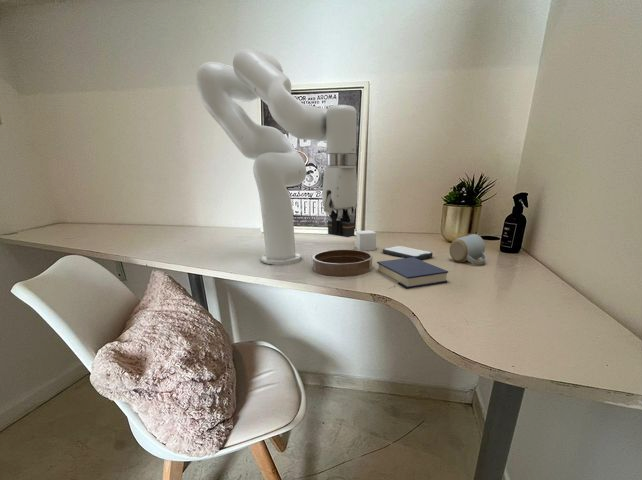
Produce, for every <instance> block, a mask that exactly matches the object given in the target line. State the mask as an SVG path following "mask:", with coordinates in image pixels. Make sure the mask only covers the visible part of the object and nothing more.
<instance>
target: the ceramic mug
mask: <svg viewBox="0 0 642 480" xmlns="http://www.w3.org/2000/svg"><path fill="white" fill-rule="evenodd" d="M448 250H449V255H450V257H451V258H452V259H453V260H454V261H455V262H458V263H460V262H461V263H462V262H467V261H468V263H471V264H472V265H475V266H482V265H484V264H485V263H486V262H487V255H486V254H485V250H486V244H485V241H484V239H483V238H482V237H481V236H480V235H479V234H477V233H473V234H469V235H466V236H461V237H458V238H456V239H453V241H452V242H451V243H450V245H449V249H448ZM478 259H482V260H478Z"/></svg>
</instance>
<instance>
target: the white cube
mask: <svg viewBox="0 0 642 480" xmlns="http://www.w3.org/2000/svg"><path fill="white" fill-rule="evenodd" d="M355 248H356V250H360V251H365V252H366V251H377V232H375V231H374V230H372V229H370V230H369V229H368V230H355Z"/></svg>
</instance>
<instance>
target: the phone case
mask: <svg viewBox="0 0 642 480" xmlns="http://www.w3.org/2000/svg"><path fill="white" fill-rule="evenodd" d="M382 253H383V254H385V255H391V256H394V257H399V258H401V259H403V258H411V257H414V258H417V259H419V260H424V259H429V258H432V257H433V252H432V251H427V250H423V249H418V248H414V247H413V248H412V247H408V246H403V245H395V246H390V247H385V248H383V249H382Z"/></svg>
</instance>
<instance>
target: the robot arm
mask: <svg viewBox="0 0 642 480" xmlns="http://www.w3.org/2000/svg"><path fill="white" fill-rule="evenodd" d="M195 78H196V89H197V91H198V95H199V98H200V101H201V103H202V105H203V106H204V109H206V111H207V112H208V114H209V115H210V116H211V117H212V118H213V120H214V121H215V122H216V123H217V124H218V125H219V126H220V127H221V129H222V130H223V131H224V132H225V134H226V135H227V136H228V138H229V139H230V141H231V143H233V144H234V146H235V147H236V148H237V150H238V151H239V152H240V153H241V154H242V156H243V157H244V158H246V159H248V160H252V161H254V162H253V165H252V172H253V178H254V181H255V184H256V188H257V191H258V197H259V198H258V199H259V203H260V205H259V206H260V212H261V221H262V229H263V237H264V238H263V239H264V249H265V254H264V255H262V256H261V262H262V263H264V264H267V265H276V264H288V263H294V262H297V261H299V260H300V259H301V256H302V255H301V254H300V253H298V252H296V239H295V226H294V211H293V203H292V197H291V196H290V193H289V190H288V187H289V188H290V187H297V186H300V185H301V184H303V183H304V181H305V180H306V178H307V165H306V163H305V161H304V159H303V157H302V156H301V154H300V153H299V152H298V150H297V149H296V148H295V147H294V145H293V144H292V143H291V141H290V140H289V139H288V138H287V136H286V135H285V134H284V133H283V132H282V131H281V130H280V129H278V128H276V127H273V126H268V125H263V124H259V123H256V122H255V121H254V120H253V119H252V118H251V116H249V113H247V111H246V110H245V109H244V108H243V106H241V105H239V104H238V103H237V102H240V103H249V102H253V101H256V100H259V99H260V100H261V101H262V102H263V103H264V104H266V105H267V108H268V111H269V113H270V116H271V117H272V119H273V120H274V121H275V122H276V123H277V124H278V125H279V126H280V127H281V128H282V129H283V130H285V132H287V133H288V134H289V135H291V136H293V137H294V138H296V139H299V140H303V141H305V140H306V141H315V142H326V167H325V168H324V172H323V177H322V178H323V179H322V195H321V196H322V197H321V198H322V199H321V201H322V202H321V203H322V207H323V212H324V213H325V214H327V215H328V217H329V221H331V220H332V235H331V236H337V235H338V236H337V237H342V236H341V235H342V221H347V222H351V219H352V218H353V213H354V211H355V210H356V209H357V207H358V204H357V203H358V176H357V166H356V165H357V119H358V118H357V117H358V115H357V109H356V108H355V107H354V106H353V105H348V104H334V105H330V106H329V107H327V108H322V107H319V106H313V105H310V104H306V103H305V104H304V103H303V102H301V101H300V100H299V99H297V98H296V97H295V96H294V95H293V94H292V83H291V80H290V78H289V77H288V76H287V75H286V74H285V73H284V71H283V66H282V65H281V63H280V62H279V60H278V59H277V58H275V57H274V56H272V55H270V54H267V53H264V52H261V51H259V50H257V49H253V48H248V47H245V48H241V49H239V50H238V51H237V52H236V53H235V54H234V56H233V59H232V65H230V64H226V63H223V62H220V61H219V62H218V61H206V62H204V63H201V64H200V66H199V67H198V69H197V71H196V77H195Z"/></svg>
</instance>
